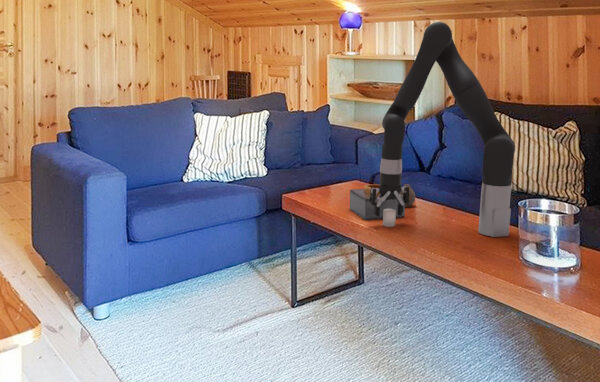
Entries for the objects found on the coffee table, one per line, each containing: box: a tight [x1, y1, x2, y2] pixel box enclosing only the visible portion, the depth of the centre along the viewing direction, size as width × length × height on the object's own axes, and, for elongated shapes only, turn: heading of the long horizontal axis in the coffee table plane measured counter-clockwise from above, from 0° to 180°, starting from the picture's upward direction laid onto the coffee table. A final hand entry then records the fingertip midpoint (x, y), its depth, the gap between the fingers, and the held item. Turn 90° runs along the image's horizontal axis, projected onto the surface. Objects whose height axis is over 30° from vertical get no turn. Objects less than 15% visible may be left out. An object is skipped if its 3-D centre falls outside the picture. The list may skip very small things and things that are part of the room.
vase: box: [400, 183, 416, 208], centre depth 216 cm, size 7×7×9 cm
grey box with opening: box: [349, 183, 406, 221], centre depth 207 cm, size 20×16×10 cm
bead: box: [382, 209, 397, 228], centre depth 191 cm, size 4×4×6 cm
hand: (388, 215), depth 191 cm, fingers open, 8 cm apart
